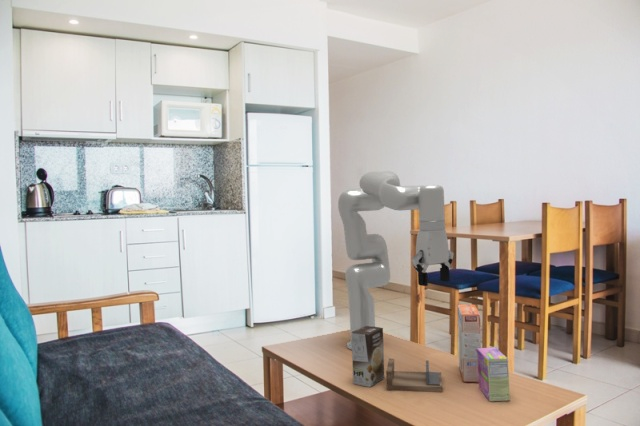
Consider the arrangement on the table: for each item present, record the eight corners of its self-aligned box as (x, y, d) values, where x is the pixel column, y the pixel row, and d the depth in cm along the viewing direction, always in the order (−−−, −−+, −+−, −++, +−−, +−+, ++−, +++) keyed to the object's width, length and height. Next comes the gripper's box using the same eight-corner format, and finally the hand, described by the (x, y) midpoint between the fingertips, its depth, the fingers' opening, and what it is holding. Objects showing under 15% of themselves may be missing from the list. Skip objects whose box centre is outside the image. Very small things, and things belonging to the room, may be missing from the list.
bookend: (426, 373, 157) (425, 360, 157) (438, 373, 156) (438, 360, 156) (426, 385, 147) (426, 371, 147) (439, 385, 147) (439, 372, 146)
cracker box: (483, 383, 151) (480, 314, 150) (462, 382, 152) (459, 313, 151) (478, 367, 165) (476, 303, 164) (459, 366, 166) (456, 303, 165)
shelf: (389, 375, 161) (389, 358, 160) (441, 377, 157) (440, 359, 157) (386, 390, 149) (386, 371, 149) (442, 392, 146) (441, 373, 145)
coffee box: (370, 387, 151) (368, 334, 151) (352, 383, 155) (350, 332, 154) (385, 378, 159) (383, 327, 158) (367, 374, 163) (365, 325, 162)
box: (478, 387, 148) (476, 347, 148) (497, 387, 148) (496, 347, 147) (488, 402, 138) (487, 359, 137) (510, 401, 137) (508, 358, 137)
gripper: (441, 224, 160) (443, 278, 160) (402, 228, 149) (404, 285, 150) (461, 224, 153) (462, 280, 154) (421, 229, 143) (423, 288, 144)
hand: (434, 283), depth 152 cm, fingers open, 9 cm apart
